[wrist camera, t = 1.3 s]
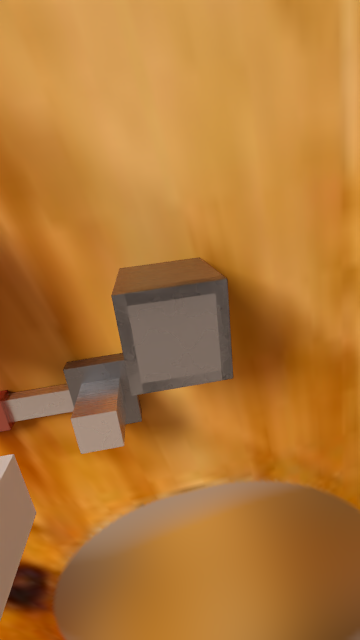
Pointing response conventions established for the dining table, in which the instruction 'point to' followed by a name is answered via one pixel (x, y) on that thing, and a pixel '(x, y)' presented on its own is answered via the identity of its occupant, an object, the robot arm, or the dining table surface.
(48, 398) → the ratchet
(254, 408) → the dining table surface
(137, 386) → the rimmed grey cube
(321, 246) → the dining table surface
